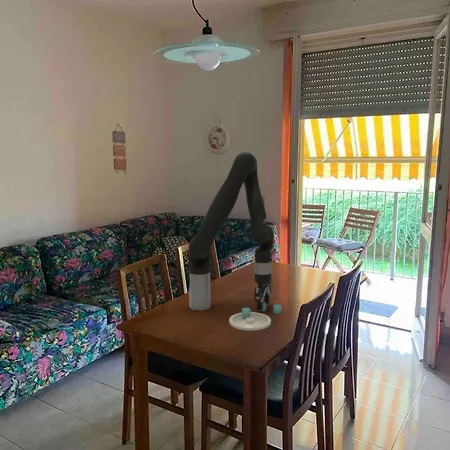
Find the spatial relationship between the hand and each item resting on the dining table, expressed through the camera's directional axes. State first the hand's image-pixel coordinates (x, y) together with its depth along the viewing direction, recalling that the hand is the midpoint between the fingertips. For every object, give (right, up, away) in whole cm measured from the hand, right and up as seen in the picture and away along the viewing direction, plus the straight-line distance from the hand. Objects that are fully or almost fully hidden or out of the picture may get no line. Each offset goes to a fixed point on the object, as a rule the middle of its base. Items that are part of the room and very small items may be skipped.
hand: (263, 306), depth 190 cm
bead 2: (0, -2, 0) cm, 2 cm away
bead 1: (-8, -3, -9) cm, 13 cm away
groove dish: (-7, -5, -13) cm, 16 cm away
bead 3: (+6, -3, -3) cm, 7 cm away
